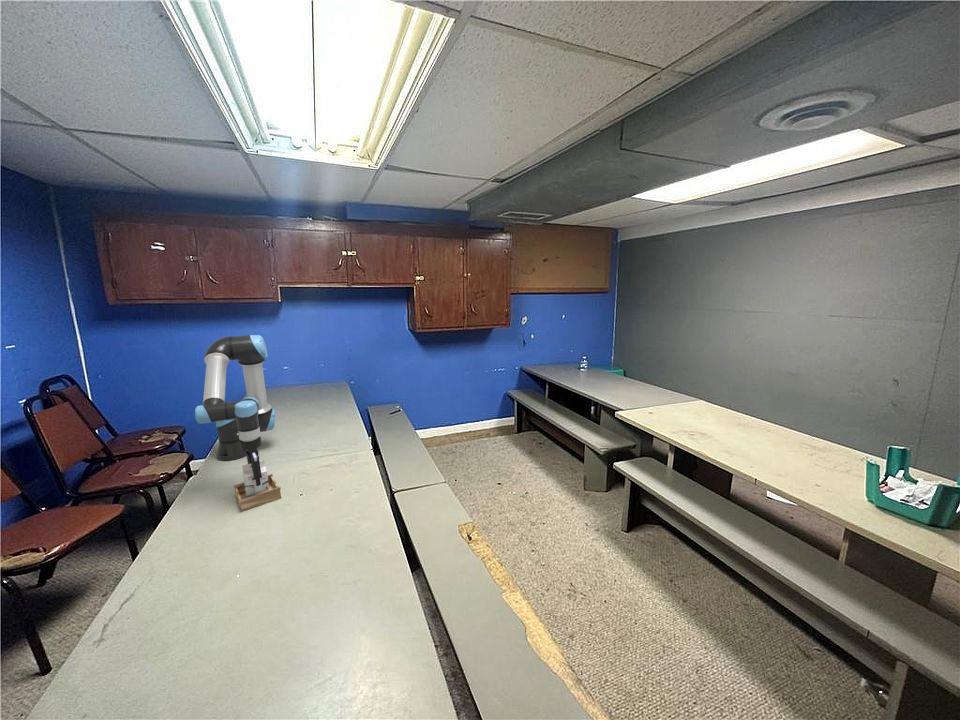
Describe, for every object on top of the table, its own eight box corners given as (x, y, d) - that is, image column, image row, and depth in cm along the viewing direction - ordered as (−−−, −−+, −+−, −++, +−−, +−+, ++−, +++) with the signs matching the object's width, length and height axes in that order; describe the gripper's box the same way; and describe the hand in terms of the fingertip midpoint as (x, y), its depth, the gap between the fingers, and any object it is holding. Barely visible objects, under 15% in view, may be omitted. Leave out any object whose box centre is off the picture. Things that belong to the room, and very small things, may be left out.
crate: (235, 496, 158) (233, 485, 157) (273, 483, 168) (271, 473, 167) (241, 512, 147) (239, 501, 146) (281, 498, 157) (280, 487, 156)
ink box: (247, 502, 153) (242, 470, 150) (246, 496, 157) (241, 465, 153) (270, 495, 158) (266, 464, 154) (268, 489, 162) (264, 459, 158)
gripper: (235, 432, 156) (242, 481, 161) (244, 449, 142) (251, 501, 147) (255, 428, 161) (261, 475, 166) (265, 443, 147) (272, 494, 152)
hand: (257, 487), depth 157 cm, fingers open, 7 cm apart
